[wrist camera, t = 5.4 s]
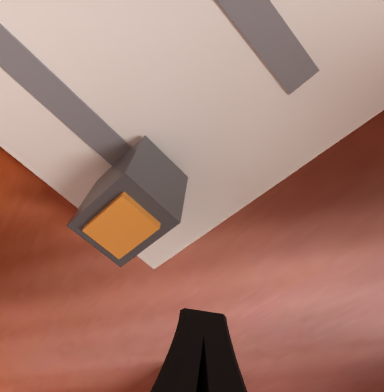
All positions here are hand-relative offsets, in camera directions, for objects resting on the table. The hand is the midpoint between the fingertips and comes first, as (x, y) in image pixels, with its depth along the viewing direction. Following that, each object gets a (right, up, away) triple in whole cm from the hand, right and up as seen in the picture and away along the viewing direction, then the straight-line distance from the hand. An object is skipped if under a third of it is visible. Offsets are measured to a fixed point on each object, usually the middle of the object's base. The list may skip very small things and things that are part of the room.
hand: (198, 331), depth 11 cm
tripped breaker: (-2, +5, +3) cm, 6 cm away
